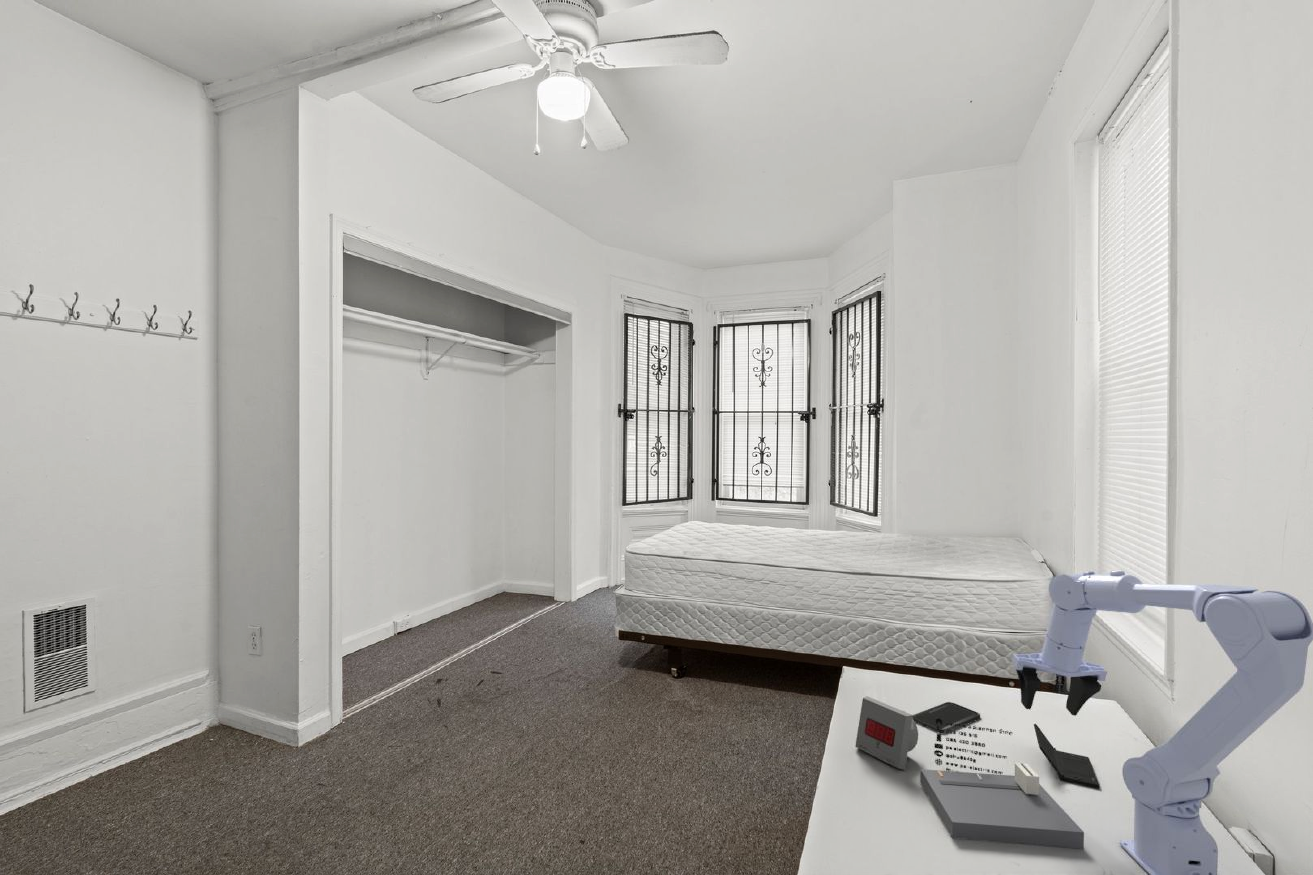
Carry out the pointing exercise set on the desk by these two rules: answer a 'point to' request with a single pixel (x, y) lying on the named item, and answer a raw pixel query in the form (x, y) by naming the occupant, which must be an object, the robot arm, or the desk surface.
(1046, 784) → the desk surface
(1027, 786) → the fader knob
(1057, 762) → the handheld gaming console
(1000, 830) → the grey slotted plate
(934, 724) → the square ic package
